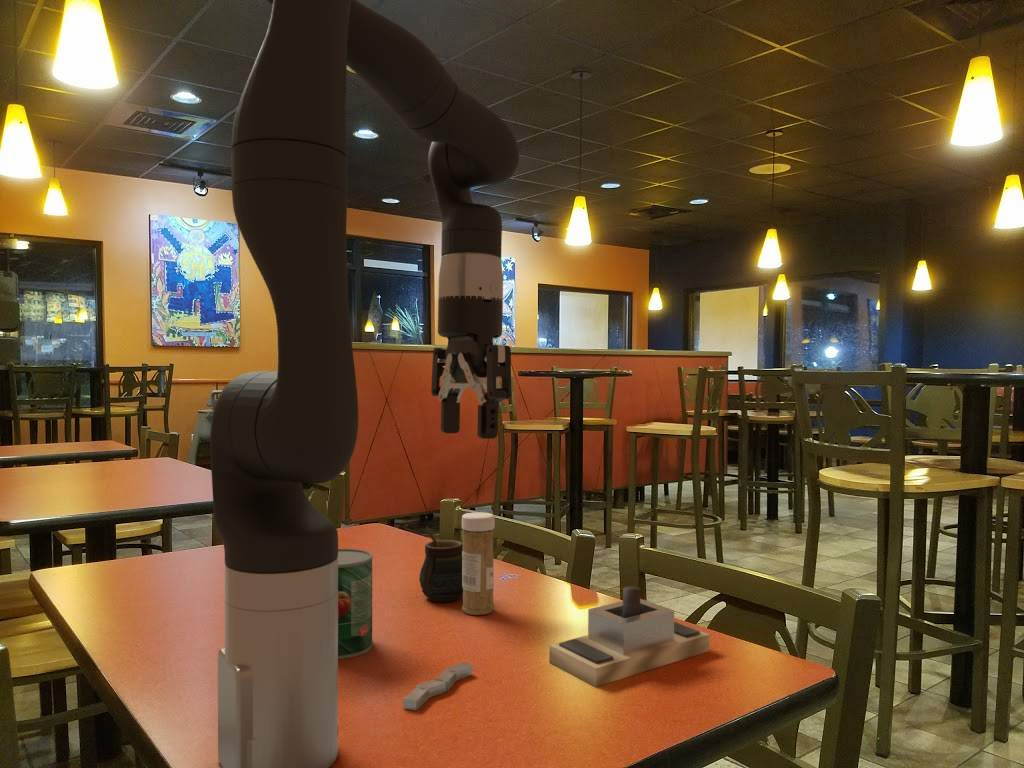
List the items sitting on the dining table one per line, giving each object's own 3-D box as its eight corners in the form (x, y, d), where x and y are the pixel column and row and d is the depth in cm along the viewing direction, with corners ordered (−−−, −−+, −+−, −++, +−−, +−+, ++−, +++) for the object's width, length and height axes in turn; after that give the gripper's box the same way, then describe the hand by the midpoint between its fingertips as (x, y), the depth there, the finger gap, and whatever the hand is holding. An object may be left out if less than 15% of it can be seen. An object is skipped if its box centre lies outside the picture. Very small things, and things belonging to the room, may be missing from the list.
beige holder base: (595, 687, 79) (596, 611, 79) (549, 662, 85) (549, 593, 85) (709, 651, 89) (710, 584, 89) (660, 631, 96) (660, 569, 96)
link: (623, 655, 83) (623, 623, 82) (588, 638, 87) (588, 609, 87) (673, 640, 87) (674, 610, 87) (637, 625, 92) (637, 597, 92)
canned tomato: (378, 635, 94) (379, 548, 93) (364, 660, 86) (365, 565, 86) (316, 634, 94) (316, 547, 94) (296, 659, 86) (296, 564, 86)
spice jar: (500, 612, 103) (501, 515, 103) (471, 618, 100) (472, 518, 100) (483, 603, 107) (483, 510, 106) (455, 609, 104) (455, 513, 104)
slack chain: (414, 711, 73) (414, 701, 73) (396, 706, 74) (396, 696, 74) (475, 674, 82) (475, 665, 82) (459, 669, 83) (459, 660, 83)
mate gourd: (448, 608, 104) (447, 537, 104) (407, 600, 109) (406, 531, 108) (478, 595, 110) (478, 528, 110) (439, 587, 115) (438, 523, 114)
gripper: (414, 299, 91) (411, 432, 91) (474, 288, 79) (471, 441, 79) (467, 303, 95) (465, 431, 95) (532, 294, 83) (529, 439, 83)
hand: (468, 435), depth 87 cm, fingers open, 8 cm apart
